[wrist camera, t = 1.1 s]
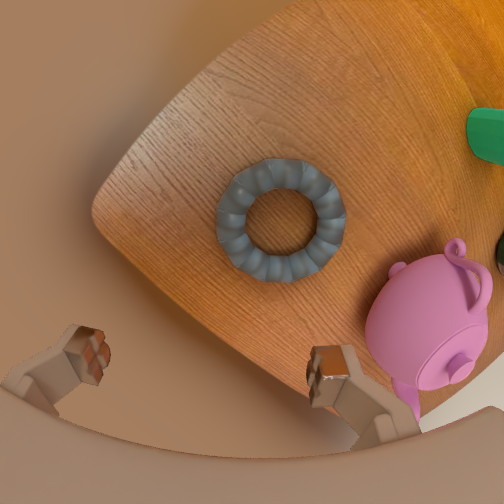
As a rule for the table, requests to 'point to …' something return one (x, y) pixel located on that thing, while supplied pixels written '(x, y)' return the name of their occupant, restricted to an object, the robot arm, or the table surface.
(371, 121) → the table surface
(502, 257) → the coffee jar
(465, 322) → the teapot
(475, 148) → the candle
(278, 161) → the ring
